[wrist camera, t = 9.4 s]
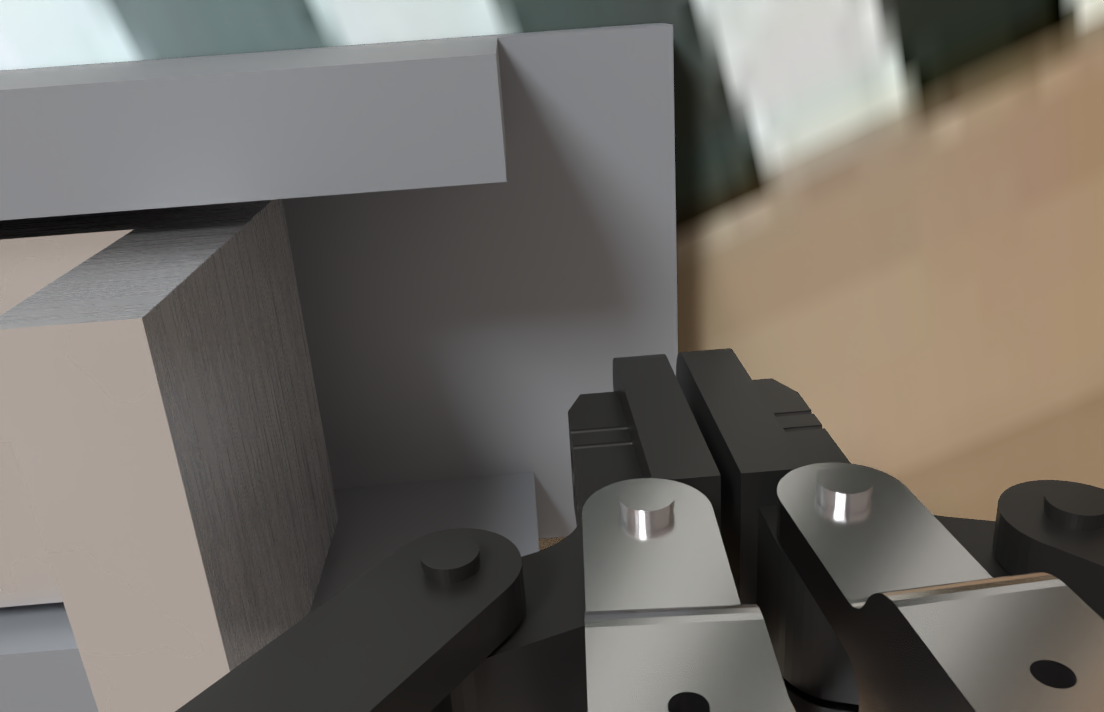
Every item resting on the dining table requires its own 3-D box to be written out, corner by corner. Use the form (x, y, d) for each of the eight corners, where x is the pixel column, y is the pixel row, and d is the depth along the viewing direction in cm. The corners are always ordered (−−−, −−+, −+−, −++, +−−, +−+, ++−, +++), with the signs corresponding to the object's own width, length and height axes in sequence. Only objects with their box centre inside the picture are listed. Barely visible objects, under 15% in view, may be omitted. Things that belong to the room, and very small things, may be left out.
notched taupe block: (-79, 202, 16) (-554, 373, 9) (302, 173, 16) (141, 318, 9) (20, 499, 18) (-294, 830, 11) (352, 472, 18) (256, 780, 11)
